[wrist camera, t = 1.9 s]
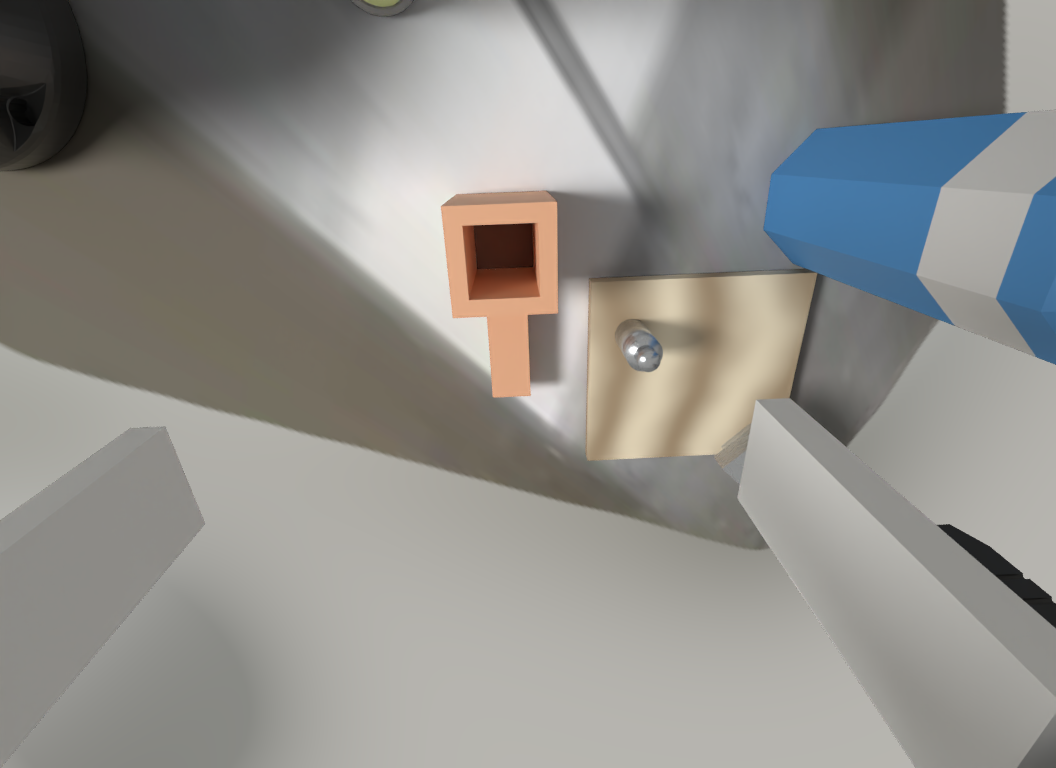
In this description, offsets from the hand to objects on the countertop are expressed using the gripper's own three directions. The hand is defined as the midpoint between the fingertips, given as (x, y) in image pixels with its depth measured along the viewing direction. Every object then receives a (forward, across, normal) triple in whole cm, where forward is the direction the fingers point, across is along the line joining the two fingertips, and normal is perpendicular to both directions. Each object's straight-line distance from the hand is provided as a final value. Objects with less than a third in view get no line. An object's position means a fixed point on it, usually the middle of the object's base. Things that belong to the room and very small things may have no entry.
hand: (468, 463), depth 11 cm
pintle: (+24, +10, -6) cm, 27 cm away
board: (+25, +14, -9) cm, 31 cm away
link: (+25, +1, -3) cm, 25 cm away
